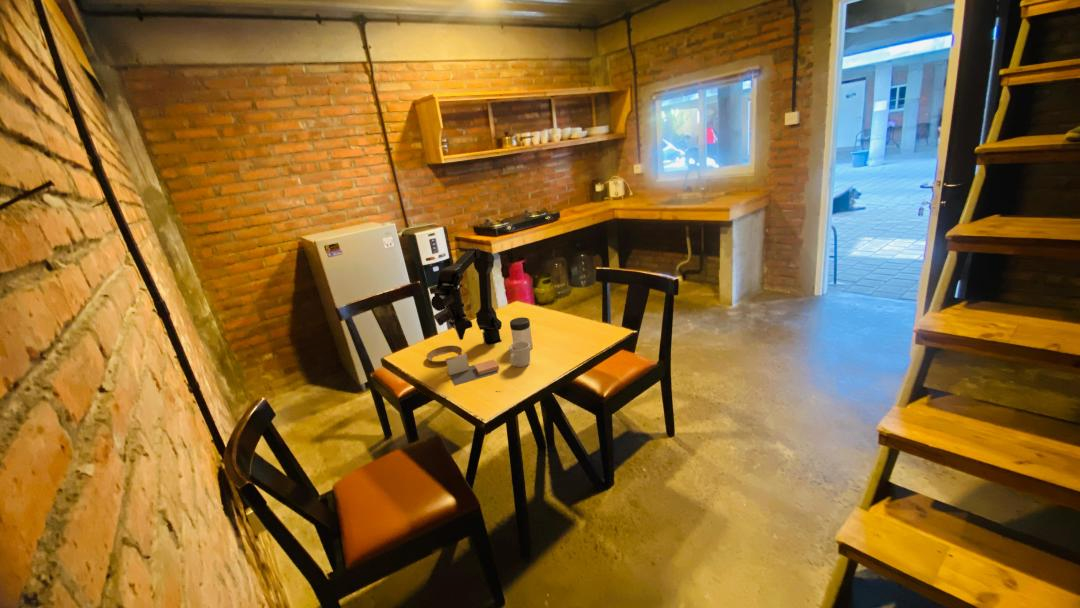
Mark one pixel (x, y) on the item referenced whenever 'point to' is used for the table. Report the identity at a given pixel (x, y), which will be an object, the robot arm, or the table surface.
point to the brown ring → (443, 352)
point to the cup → (520, 354)
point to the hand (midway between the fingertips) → (461, 339)
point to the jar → (521, 330)
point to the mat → (468, 376)
